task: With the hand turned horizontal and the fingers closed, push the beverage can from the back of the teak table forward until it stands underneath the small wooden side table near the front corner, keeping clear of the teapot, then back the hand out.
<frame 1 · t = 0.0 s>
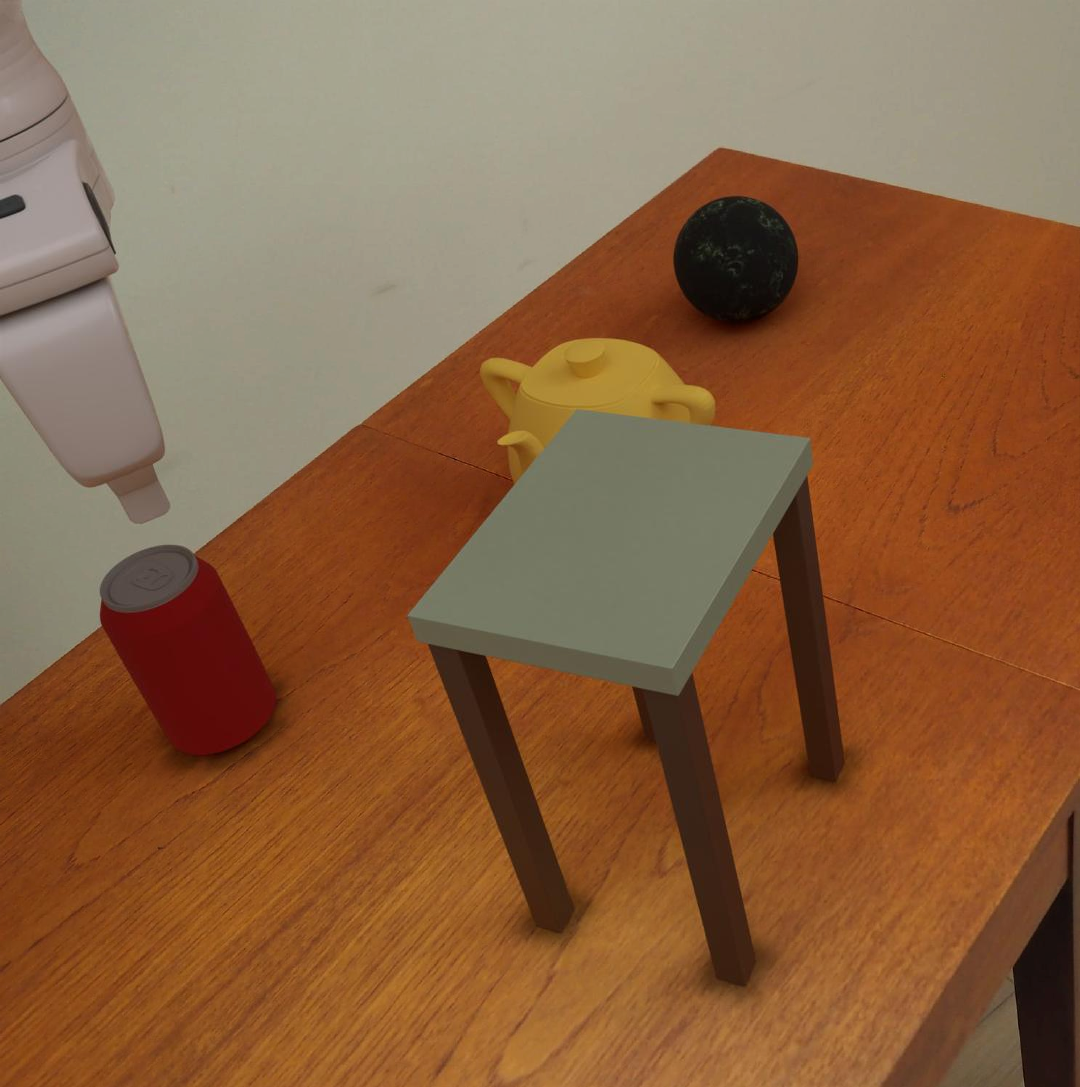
hand: (130, 464, 65), 23 cm above the table, tool pointing down, fingers open, 8 cm apart
decorative stone: (744, 316, 114), on the table
side table: (696, 841, 72), on the table
teapot: (605, 511, 96), on the table
beverage can: (228, 724, 84), on the table
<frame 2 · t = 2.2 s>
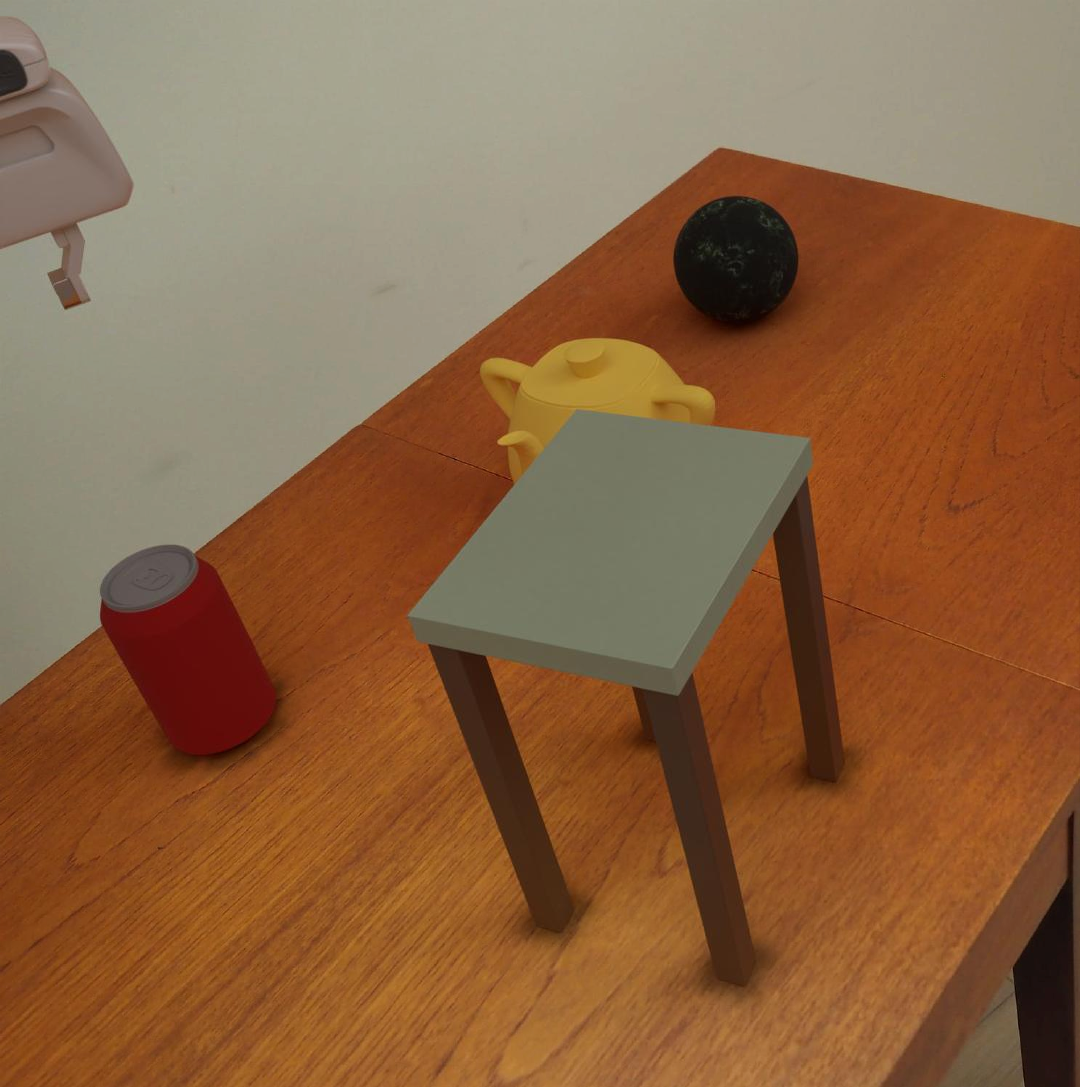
nothing on the table moved.
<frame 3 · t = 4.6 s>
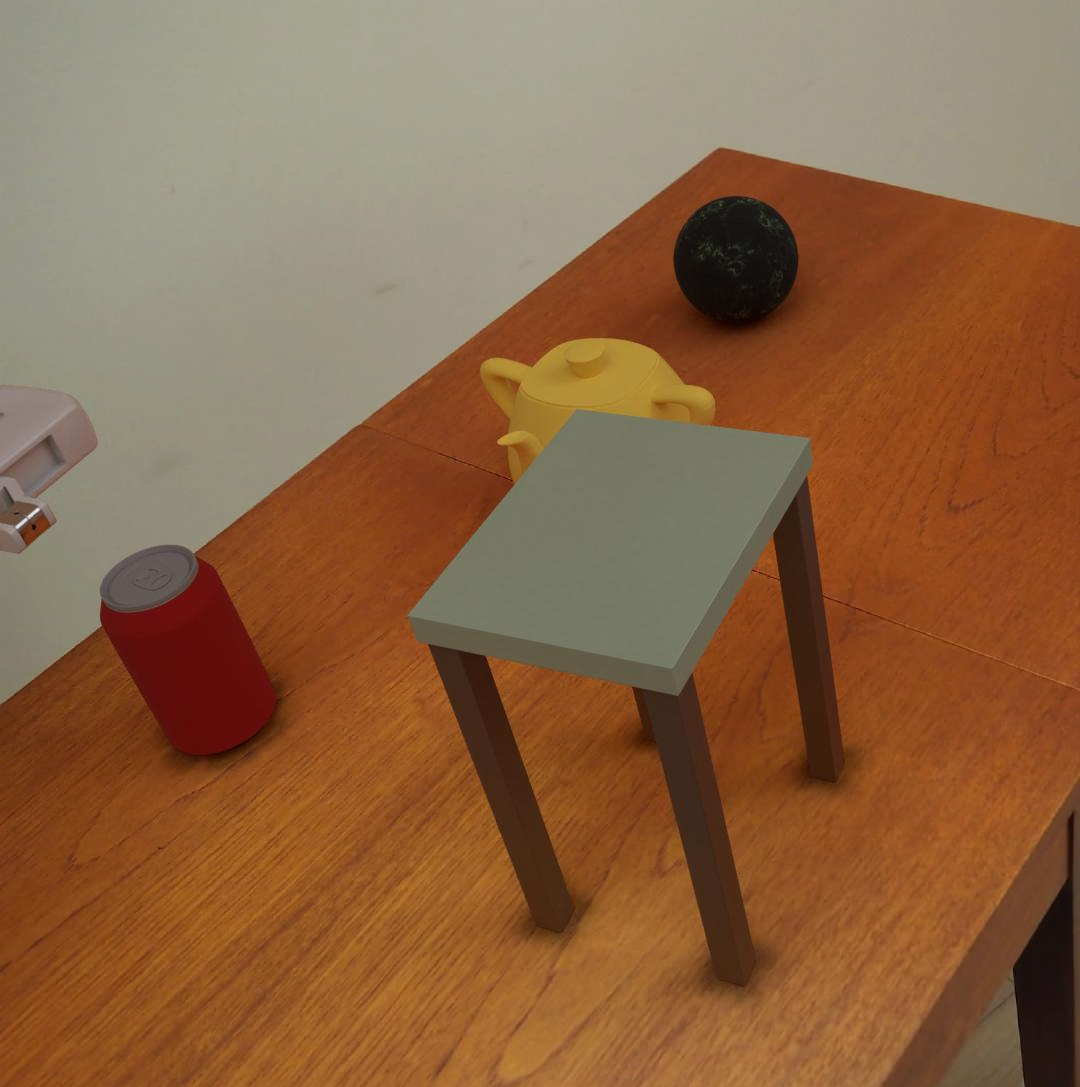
hand: (34, 527, 78), 14 cm above the table, tool horizontal, fingers closed
nothing on the table moved.
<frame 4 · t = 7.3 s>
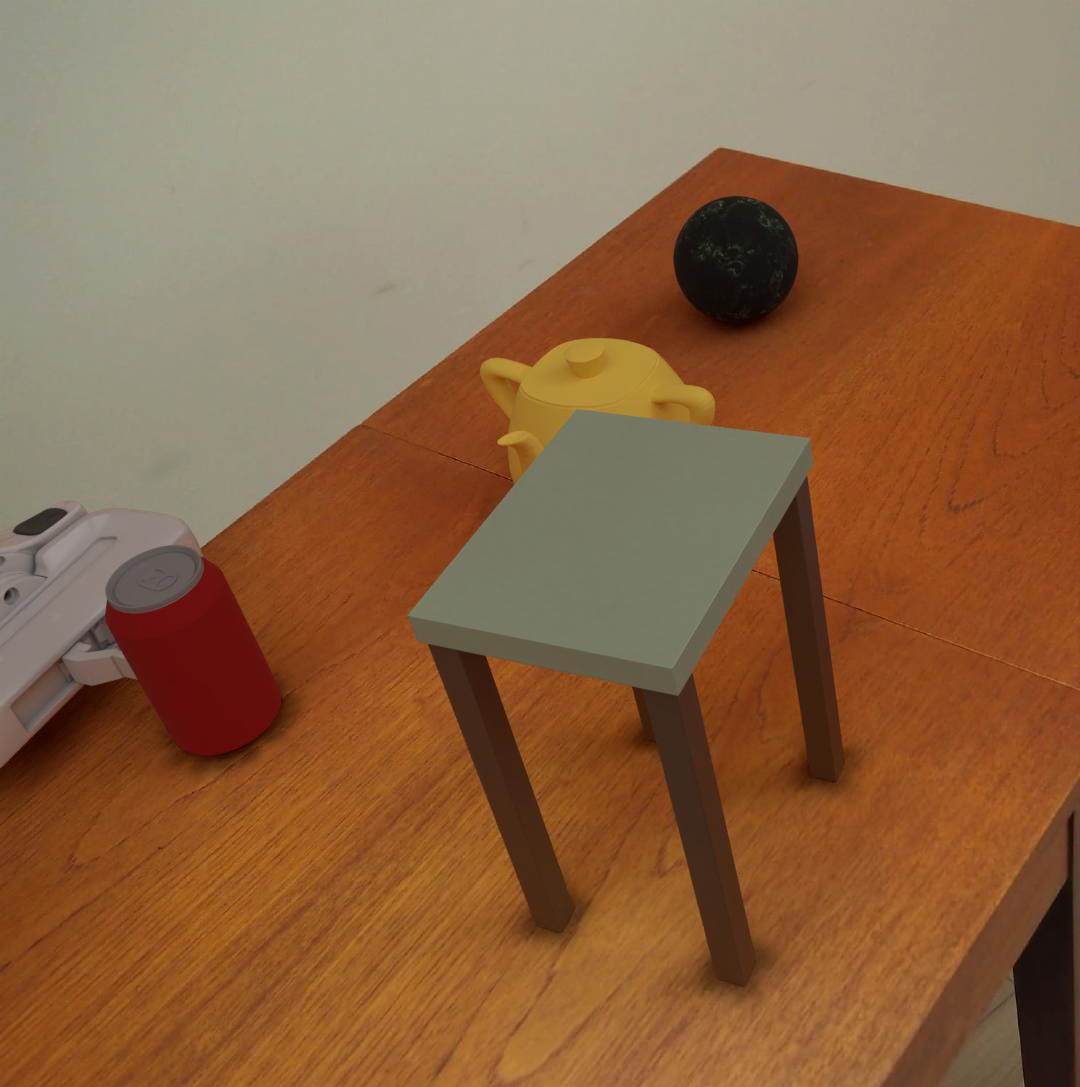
hand: (156, 655, 82), 5 cm above the table, tool horizontal, fingers closed, pressing on beverage can
beverage can: (233, 725, 84), on the table, touching gripper
everything else where it was.
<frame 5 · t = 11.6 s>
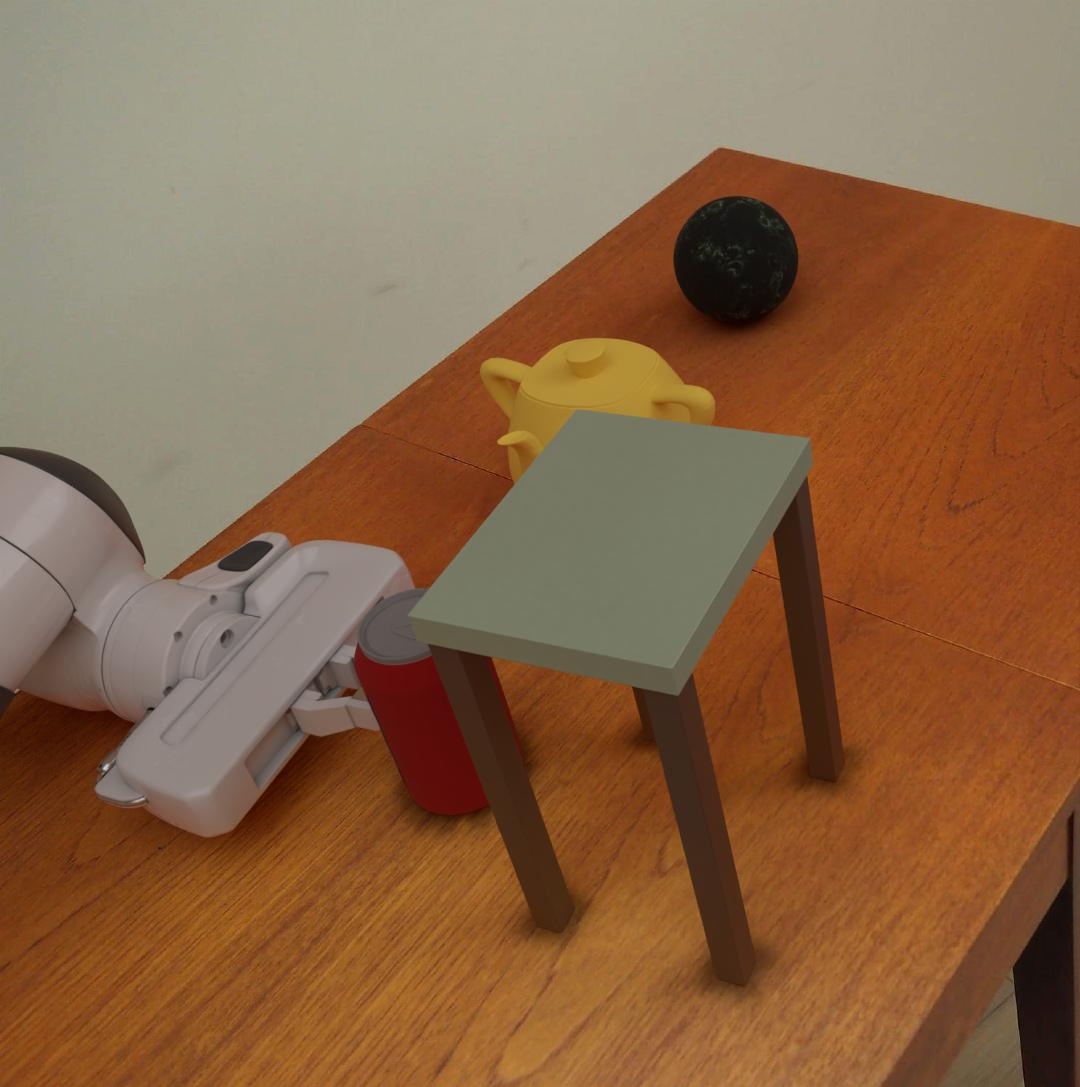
hand: (392, 703, 76), 5 cm above the table, tool horizontal, fingers closed, pressing on beverage can
beverage can: (469, 779, 78), on the table, touching gripper
everything else where it was.
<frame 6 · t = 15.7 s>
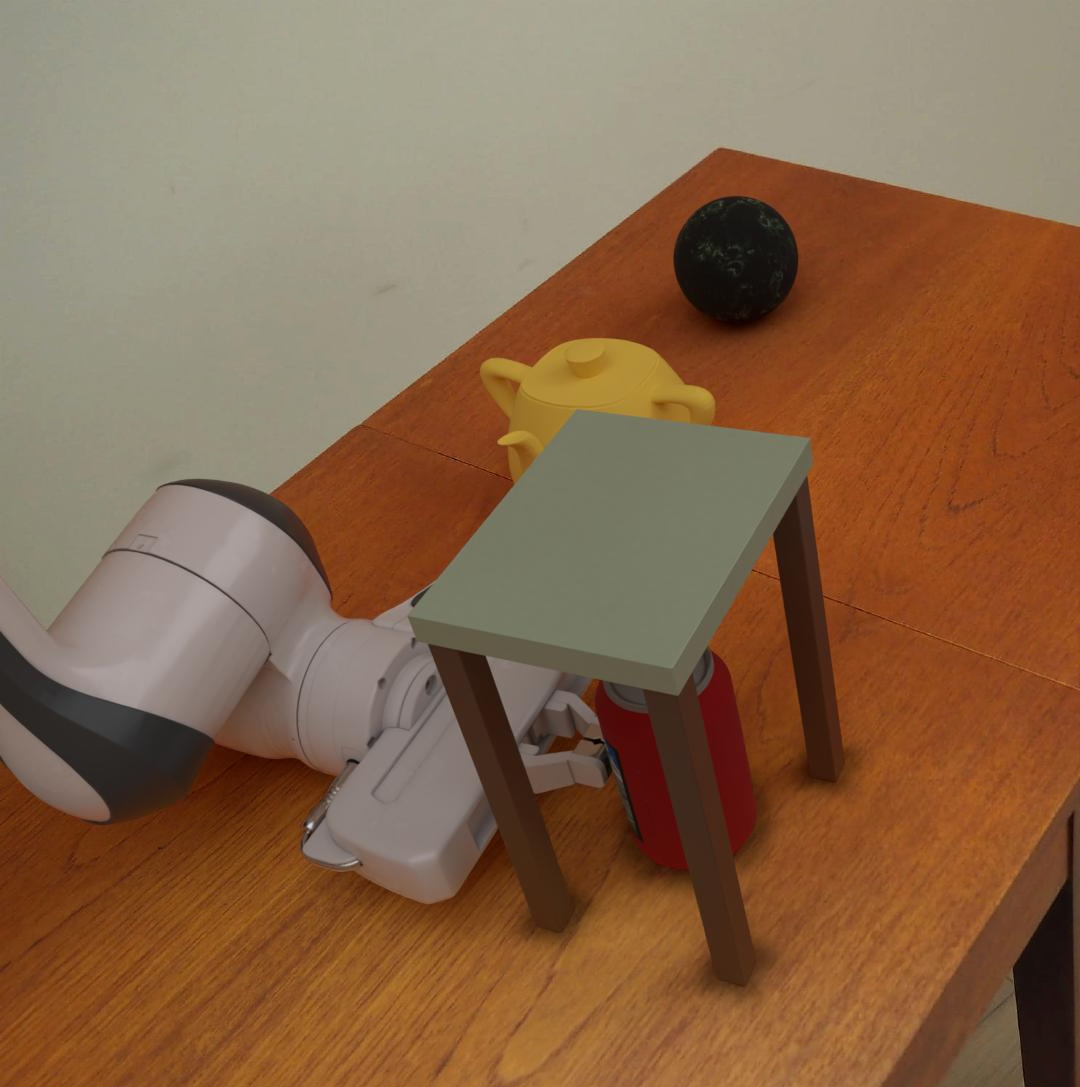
hand: (615, 756, 70), 5 cm above the table, tool horizontal, fingers closed
beverage can: (696, 829, 73), on the table, touching gripper
everything else where it was.
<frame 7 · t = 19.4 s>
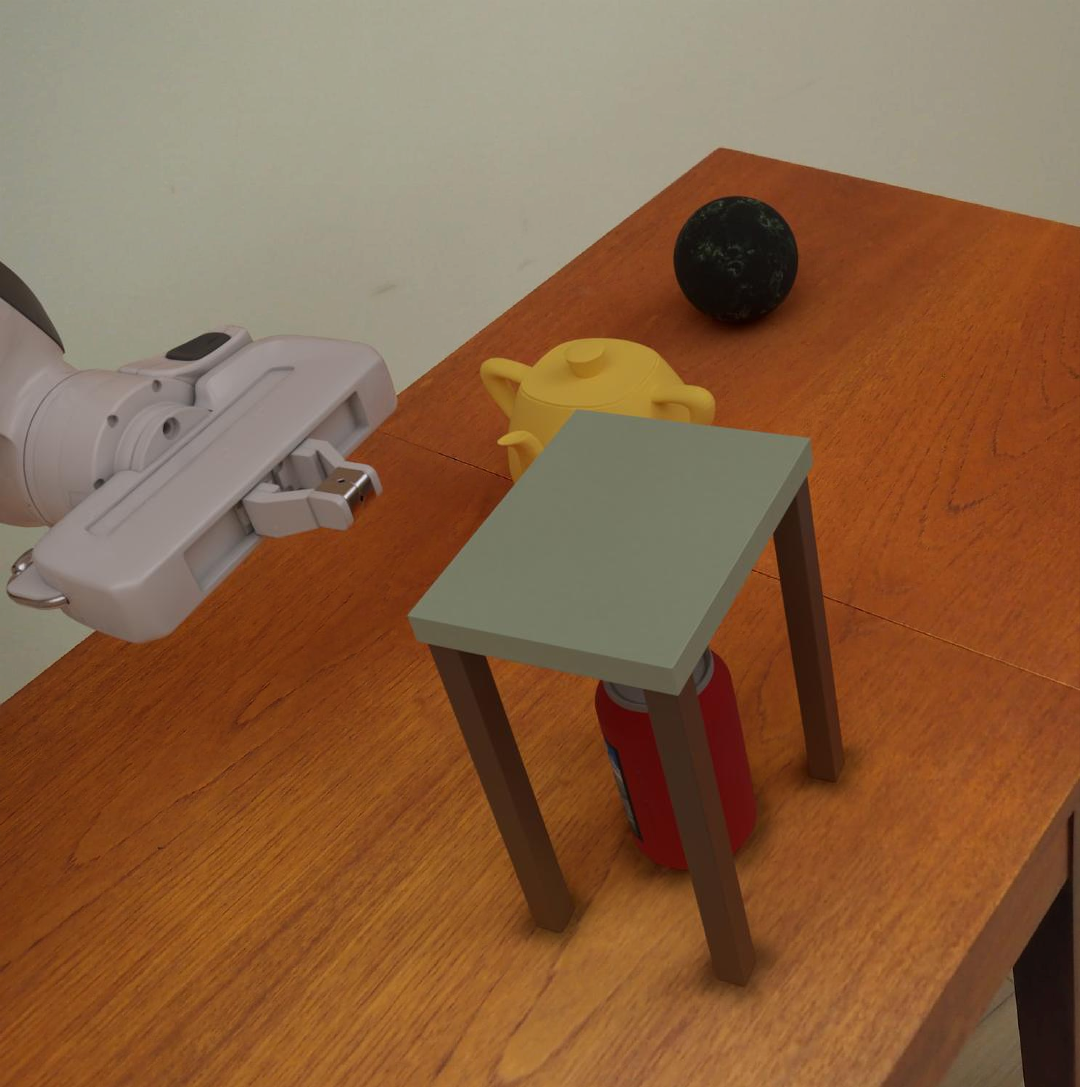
hand: (362, 498, 64), 21 cm above the table, tool horizontal, fingers closed
beverage can: (696, 829, 73), on the table
everything else where it was.
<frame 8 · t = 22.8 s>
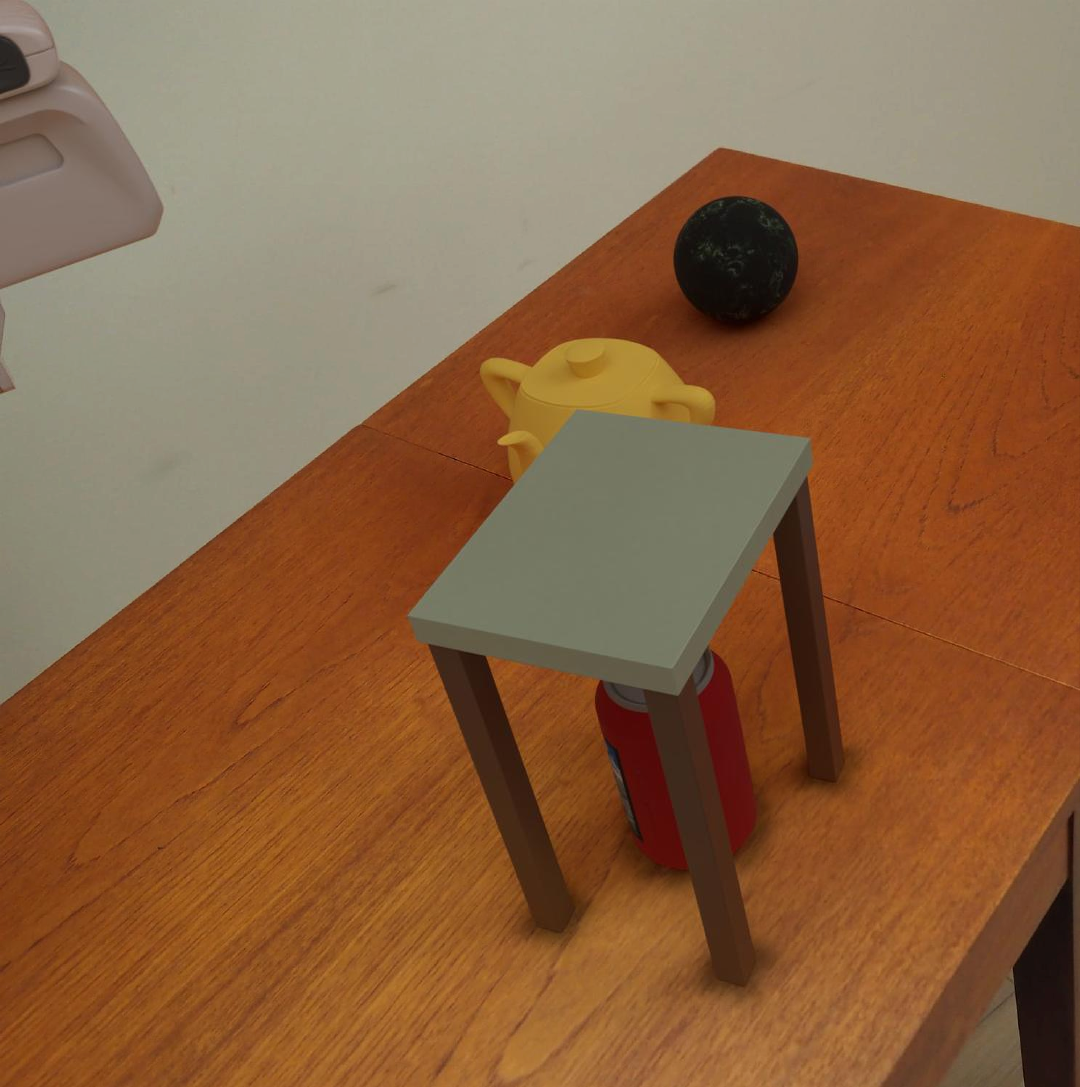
nothing on the table moved.
at the end: beverage can inside the target area on the side table (0.9 cm from its centre), point 0.0 cm above the side table's base; beverage can tilted 0°; beverage can touching table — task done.
